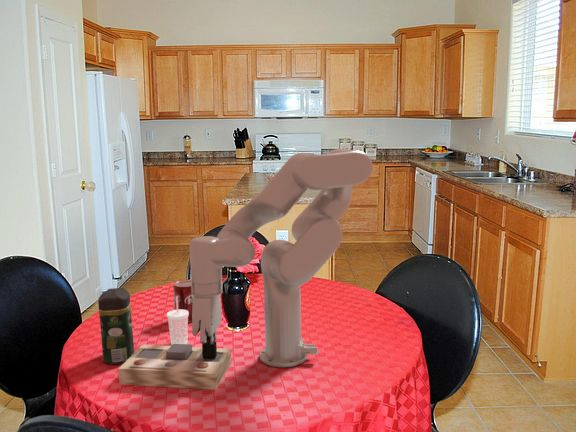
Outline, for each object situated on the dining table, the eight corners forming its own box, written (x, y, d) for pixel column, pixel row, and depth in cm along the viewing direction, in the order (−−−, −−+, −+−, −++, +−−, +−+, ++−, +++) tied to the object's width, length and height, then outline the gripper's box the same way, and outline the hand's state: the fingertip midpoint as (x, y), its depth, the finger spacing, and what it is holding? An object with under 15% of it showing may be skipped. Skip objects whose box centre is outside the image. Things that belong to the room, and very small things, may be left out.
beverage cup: (194, 341, 152) (192, 294, 150) (180, 349, 147) (177, 300, 145) (178, 337, 155) (176, 291, 153) (163, 344, 150) (160, 297, 148)
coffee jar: (106, 351, 146) (101, 286, 143) (135, 348, 148) (131, 284, 144) (100, 366, 137) (94, 298, 134) (132, 364, 138) (127, 295, 135)
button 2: (222, 364, 135) (222, 353, 135) (217, 373, 131) (217, 362, 130) (203, 363, 136) (203, 352, 136) (197, 371, 131) (197, 361, 131)
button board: (231, 363, 138) (230, 347, 137) (216, 389, 124) (215, 372, 123) (143, 358, 141) (142, 342, 141) (119, 384, 128) (118, 366, 127)
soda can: (200, 315, 172) (199, 280, 170) (194, 324, 165) (193, 287, 163) (179, 315, 173) (177, 279, 171) (172, 323, 166) (170, 286, 164)
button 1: (163, 360, 138) (162, 350, 137) (155, 369, 133) (154, 359, 132) (144, 359, 138) (144, 349, 138) (136, 368, 134) (135, 358, 133)
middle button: (192, 354, 136) (191, 344, 136) (185, 363, 131) (185, 352, 131) (173, 353, 137) (173, 343, 136) (166, 362, 132) (165, 351, 132)
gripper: (201, 277, 137) (204, 344, 141) (181, 296, 123) (185, 370, 126) (229, 278, 136) (231, 346, 140) (213, 297, 122) (216, 372, 125)
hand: (209, 357), depth 133 cm, fingers closed
